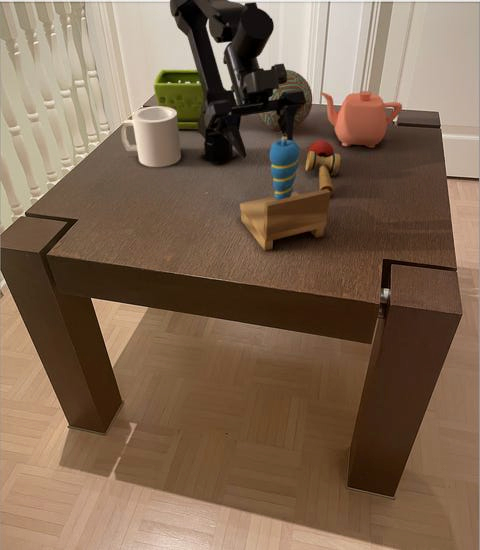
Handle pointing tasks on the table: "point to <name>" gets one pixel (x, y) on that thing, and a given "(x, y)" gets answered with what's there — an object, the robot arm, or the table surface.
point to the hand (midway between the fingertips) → (268, 152)
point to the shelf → (286, 216)
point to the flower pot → (180, 95)
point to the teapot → (361, 118)
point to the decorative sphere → (292, 83)
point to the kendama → (323, 163)
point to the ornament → (284, 166)
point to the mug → (154, 136)
